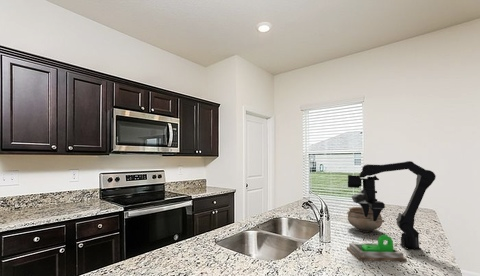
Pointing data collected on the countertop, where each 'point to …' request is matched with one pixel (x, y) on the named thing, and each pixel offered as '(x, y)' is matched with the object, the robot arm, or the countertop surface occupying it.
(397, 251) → the keyed nest
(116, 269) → the countertop surface
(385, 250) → the mechanical part
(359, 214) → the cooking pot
